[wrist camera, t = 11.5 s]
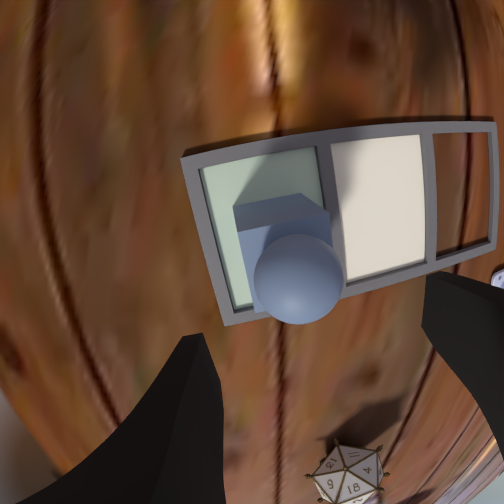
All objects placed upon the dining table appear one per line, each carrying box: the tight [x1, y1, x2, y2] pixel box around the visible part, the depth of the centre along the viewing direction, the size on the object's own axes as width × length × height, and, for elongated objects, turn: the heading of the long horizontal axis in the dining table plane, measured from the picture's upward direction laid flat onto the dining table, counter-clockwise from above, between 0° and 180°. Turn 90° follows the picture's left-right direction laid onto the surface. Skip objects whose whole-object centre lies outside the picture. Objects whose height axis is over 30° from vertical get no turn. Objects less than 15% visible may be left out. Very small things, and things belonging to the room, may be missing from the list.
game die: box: [304, 438, 390, 504], centre depth 24 cm, size 9×8×10 cm
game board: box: [180, 121, 499, 326], centre depth 18 cm, size 23×11×1 cm, turn 101°
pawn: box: [232, 193, 344, 324], centre depth 14 cm, size 4×4×8 cm
